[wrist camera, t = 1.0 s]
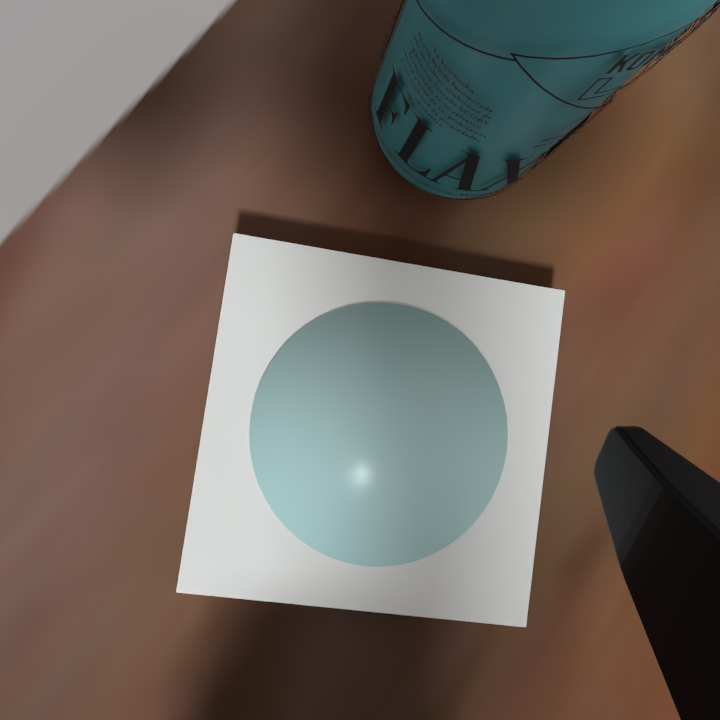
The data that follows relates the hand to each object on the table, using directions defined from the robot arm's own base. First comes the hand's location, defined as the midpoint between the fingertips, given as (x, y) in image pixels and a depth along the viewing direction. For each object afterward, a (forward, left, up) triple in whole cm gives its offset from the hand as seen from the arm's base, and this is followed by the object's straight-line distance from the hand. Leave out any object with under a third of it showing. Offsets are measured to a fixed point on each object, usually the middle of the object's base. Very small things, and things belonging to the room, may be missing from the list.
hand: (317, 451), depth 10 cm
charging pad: (-3, -1, -14) cm, 15 cm away
